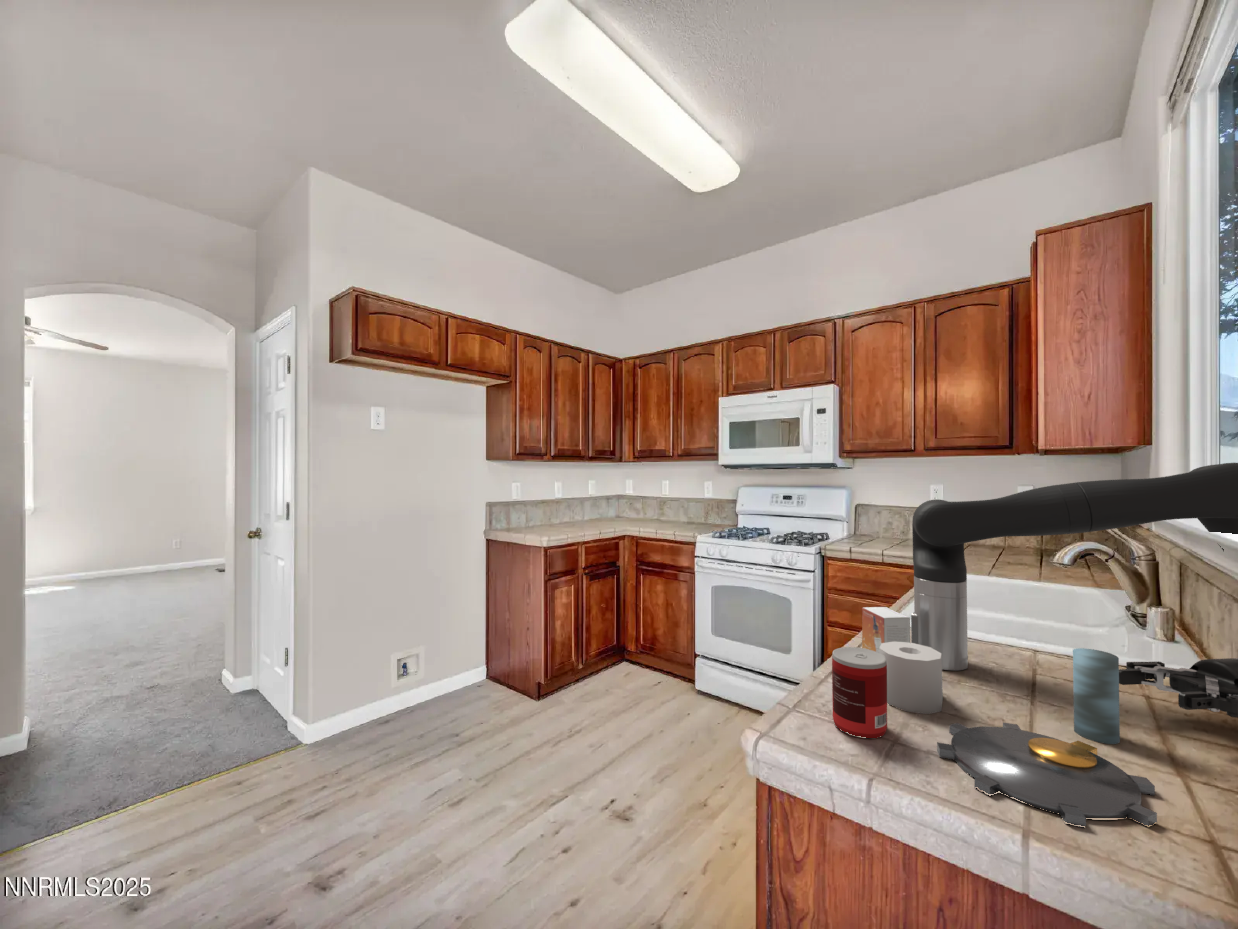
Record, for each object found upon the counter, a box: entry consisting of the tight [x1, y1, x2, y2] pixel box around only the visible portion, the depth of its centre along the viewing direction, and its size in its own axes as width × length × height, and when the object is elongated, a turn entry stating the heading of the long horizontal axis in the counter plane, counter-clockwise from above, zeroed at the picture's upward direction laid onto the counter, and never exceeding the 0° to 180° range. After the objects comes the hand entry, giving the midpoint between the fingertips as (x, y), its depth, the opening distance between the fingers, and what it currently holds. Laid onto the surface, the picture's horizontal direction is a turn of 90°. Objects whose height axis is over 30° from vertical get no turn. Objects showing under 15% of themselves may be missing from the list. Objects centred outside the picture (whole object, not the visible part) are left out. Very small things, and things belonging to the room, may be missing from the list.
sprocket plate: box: [936, 722, 1158, 827], centre depth 67 cm, size 21×22×2 cm
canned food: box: [831, 646, 888, 739], centre depth 79 cm, size 8×8×11 cm
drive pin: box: [1072, 647, 1121, 745], centre depth 77 cm, size 5×5×12 cm
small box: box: [861, 606, 911, 653], centre depth 106 cm, size 8×6×10 cm
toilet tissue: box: [879, 641, 944, 715], centre depth 90 cm, size 9×13×9 cm
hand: (1148, 688), depth 78 cm, fingers open, 8 cm apart
